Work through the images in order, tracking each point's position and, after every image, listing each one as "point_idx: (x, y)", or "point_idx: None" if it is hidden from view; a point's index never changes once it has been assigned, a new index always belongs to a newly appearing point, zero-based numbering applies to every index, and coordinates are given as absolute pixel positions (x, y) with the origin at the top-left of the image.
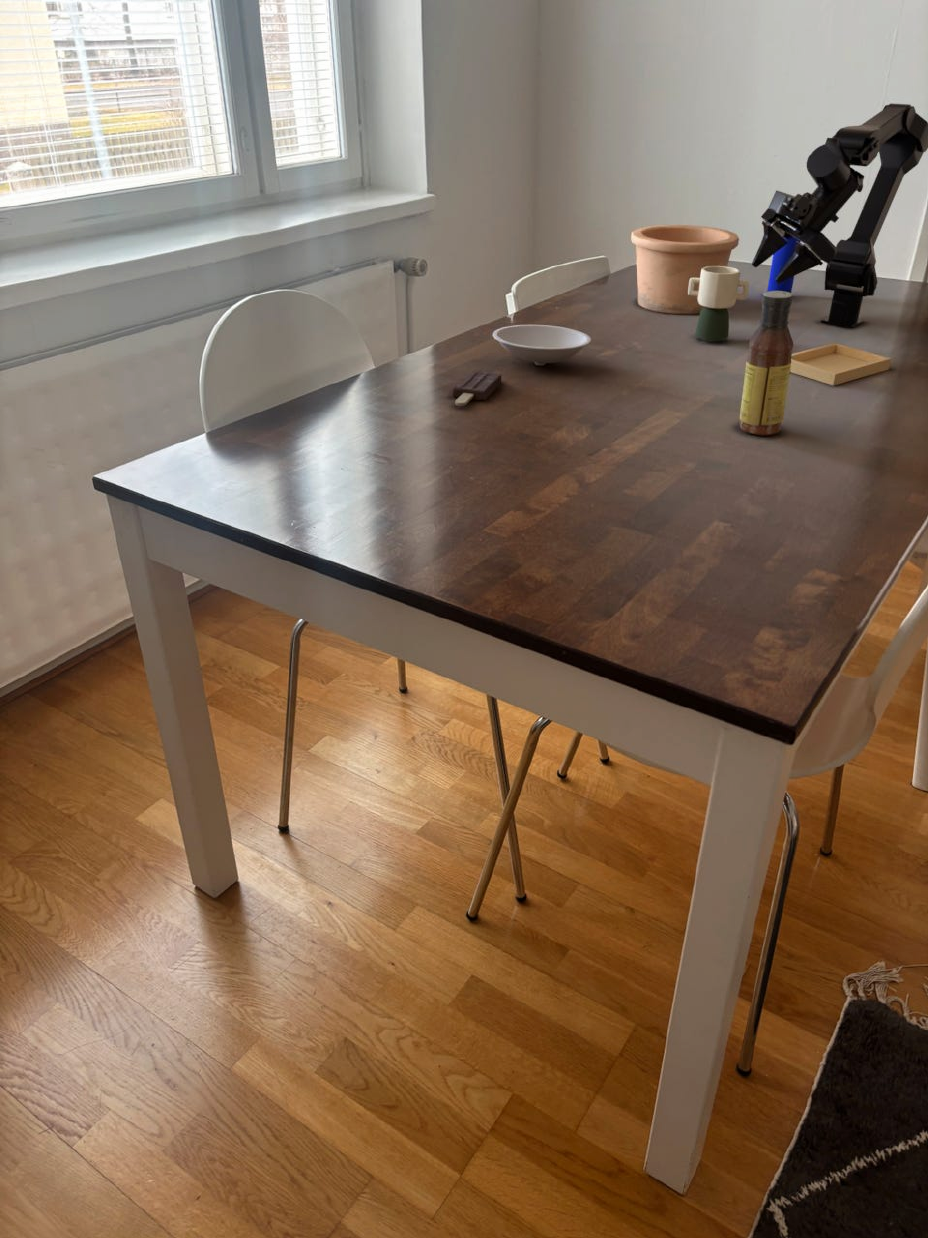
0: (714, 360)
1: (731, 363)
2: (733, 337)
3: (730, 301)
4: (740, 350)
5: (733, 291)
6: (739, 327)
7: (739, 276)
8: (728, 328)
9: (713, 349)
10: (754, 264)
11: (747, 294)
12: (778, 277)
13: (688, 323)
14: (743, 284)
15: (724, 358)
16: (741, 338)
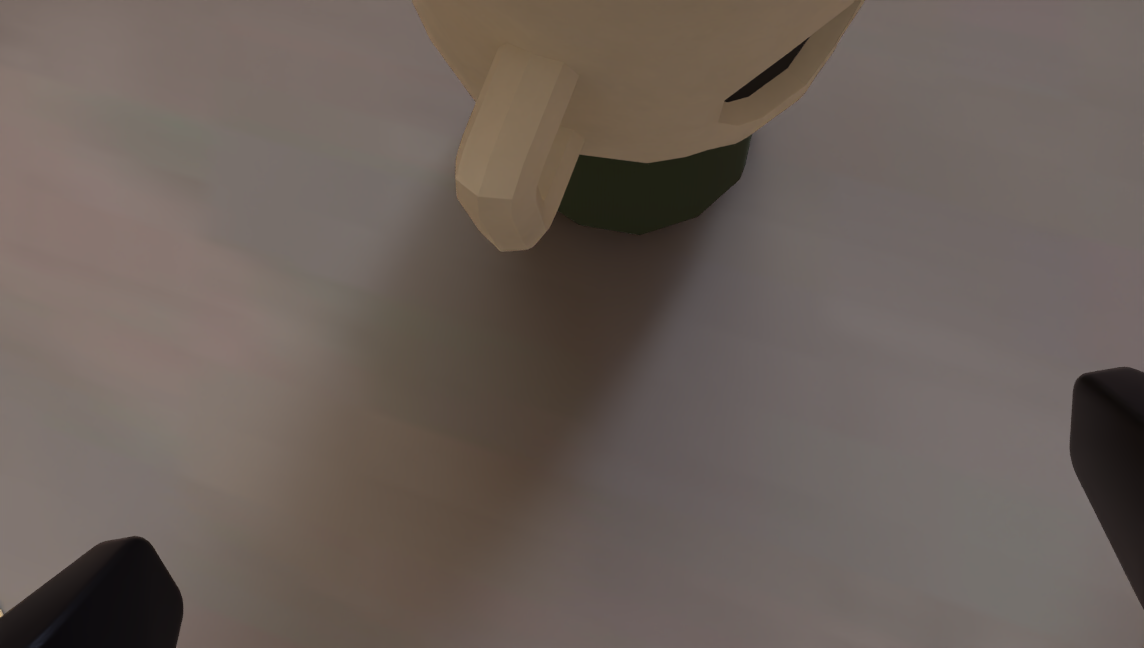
0: (123, 12)
1: (44, 111)
2: (700, 315)
3: (434, 42)
4: (344, 266)
5: (426, 13)
6: (1009, 457)
7: (509, 14)
8: (570, 195)
9: (383, 72)
10: (1080, 418)
11: (496, 245)
12: (50, 580)
13: (1130, 55)
14: (469, 125)
15: (161, 94)
16: (669, 372)
